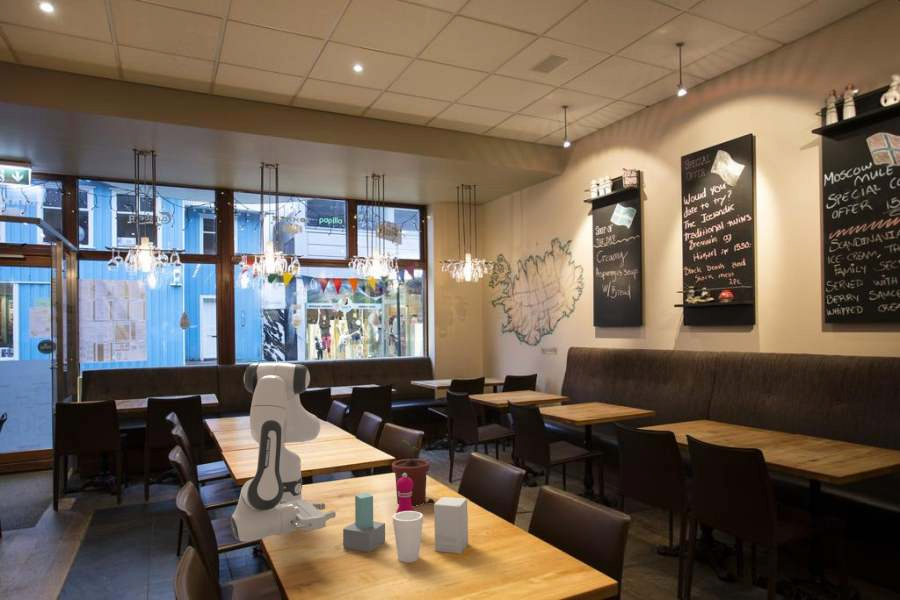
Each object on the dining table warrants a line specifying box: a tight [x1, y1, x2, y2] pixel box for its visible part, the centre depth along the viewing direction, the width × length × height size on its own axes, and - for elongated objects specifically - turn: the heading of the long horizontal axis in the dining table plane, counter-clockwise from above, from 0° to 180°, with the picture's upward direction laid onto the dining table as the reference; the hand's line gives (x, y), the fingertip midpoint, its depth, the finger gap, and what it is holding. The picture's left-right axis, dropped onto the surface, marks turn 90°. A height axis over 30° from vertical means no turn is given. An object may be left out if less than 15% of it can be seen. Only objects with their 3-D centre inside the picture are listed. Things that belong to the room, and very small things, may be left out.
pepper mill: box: [395, 473, 415, 514], centre depth 200 cm, size 7×7×20 cm
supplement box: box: [433, 496, 469, 554], centre depth 183 cm, size 9×9×15 cm
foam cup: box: [392, 510, 424, 563], centre depth 175 cm, size 10×9×13 cm
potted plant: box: [391, 439, 435, 507], centre depth 234 cm, size 18×22×25 cm
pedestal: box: [342, 520, 386, 553], centre depth 187 cm, size 10×10×6 cm
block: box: [354, 492, 374, 529], centre depth 187 cm, size 4×4×10 cm
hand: (329, 509), depth 181 cm, fingers open, 8 cm apart
